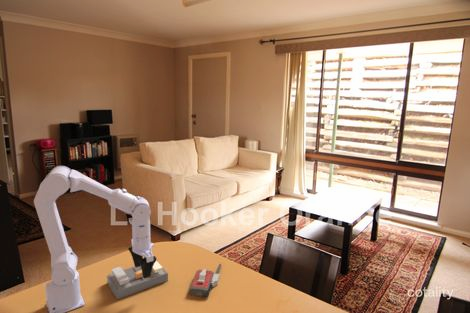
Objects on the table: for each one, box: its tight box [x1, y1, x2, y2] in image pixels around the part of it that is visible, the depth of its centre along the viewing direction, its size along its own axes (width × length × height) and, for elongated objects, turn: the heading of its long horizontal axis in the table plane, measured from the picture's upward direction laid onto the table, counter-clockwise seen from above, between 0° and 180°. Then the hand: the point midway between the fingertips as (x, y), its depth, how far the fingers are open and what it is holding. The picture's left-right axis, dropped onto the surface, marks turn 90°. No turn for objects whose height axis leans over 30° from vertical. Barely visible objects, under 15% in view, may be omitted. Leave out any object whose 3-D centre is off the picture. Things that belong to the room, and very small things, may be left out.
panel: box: [106, 265, 169, 301], centre depth 110 cm, size 18×11×3 cm, turn 128°
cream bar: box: [152, 260, 164, 273], centre depth 113 cm, size 3×9×1 cm, turn 38°
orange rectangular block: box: [135, 270, 143, 279], centre depth 108 cm, size 3×2×2 cm, turn 128°
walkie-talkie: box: [189, 263, 222, 298], centre depth 112 cm, size 9×4×20 cm
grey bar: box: [111, 266, 129, 285], centre depth 105 cm, size 3×9×1 cm, turn 38°
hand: (142, 271), depth 105 cm, fingers open, 7 cm apart
